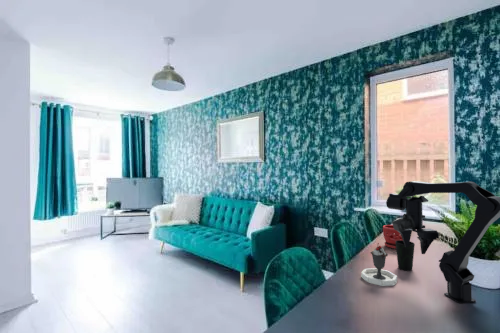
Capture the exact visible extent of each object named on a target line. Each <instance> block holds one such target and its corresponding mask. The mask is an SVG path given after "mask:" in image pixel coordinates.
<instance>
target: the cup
mask: <svg viewBox="0 0 500 333" xmlns="http://www.w3.org/2000/svg"><path fill="white" fill-rule="evenodd" d="M395 243H396V249H395V251H396V260H397V268H398V270H402V271H404V272H409V271H410V272H411V271H412V270H413V266H414V254H415V253H414V252H415V243H414V242H412V241H410V242H409V246H408V247H405V245H404V242H403V240H398V241H395Z"/></svg>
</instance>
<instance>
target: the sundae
mask: <svg viewBox="0 0 500 333" xmlns="http://www.w3.org/2000/svg"><path fill="white" fill-rule="evenodd" d="M369 253H370V255H371V256H372V263H373V266H374V268H377V269H378V273H377V275H373V277H374V278H376V279H380V280H384V279H386V277H384V276H382V275H381V269H383V270H384V268H385V265H386V259H387V258H386V257H388V256H389V254H388V253H387V252H386V249H385V248H383V247H382V246H381V245H380V244H379V242H378V243H377V245H376V247H375V248H374V250H372V251H371V252H369Z"/></svg>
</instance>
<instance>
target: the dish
mask: <svg viewBox="0 0 500 333" xmlns="http://www.w3.org/2000/svg"><path fill="white" fill-rule="evenodd" d="M377 273H378V269H377V268H376V267H372V268H371V267H370V268H364V269H363V270H362V271H361V272H360V274H361V278H362V279H363V280H364V281H365V282H366V283H369V284H371V285H375V286H380V287H391V286H396V284H397V282H398V275H397V274H395V273H393V272H391V271H389V270H386V269H384V268H383V269H381V275H382V276H384V277H386V279H384V280H380V279H376V278H374V277H373V275H377Z"/></svg>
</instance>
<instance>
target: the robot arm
mask: <svg viewBox="0 0 500 333" xmlns="http://www.w3.org/2000/svg"><path fill="white" fill-rule="evenodd" d="M402 187H403V188H402V189H401V190H400V192H399V193H389V195H388V197H387V199H386V200H385V201H386V202H385V205H386V207H387V208H388V209H389V210H390V209H391V210H396V211H404V210H405V213H403V214H402V218H398V219H395V220H393V221H391V225H393V228H394V230H396V231H398V232H399V233H400V234H401V236H402V239H403V242H404V245H405V247H408V246H409V242H411V237H412V233H413V232H415V233H416V235H417V236H416V238H417V240H419V244H420V245H419V246H420V252H421V255H425V254H426V253H427V251H428V250H429V248H430V246H431V245H432V243H433V242H434V241H436V240H437V239H439V238H440V232H439V231H437V230H436V229H432V228H426V225H425V224H424V225H423V219H425V218H426V215H424V214H423V203H427V202H429V200H428V199H427V197H425V196H424V195H426V194H427V195H429V194H444V193H445V194H464V195H465V196H466V197H467V198H468V199H469V200H470V202H472V203H473V204H474V205H476V208H475V210H474V218H473V220H472V221H471V223H470V225H469V226H468V228H467V230H466V232H465V233H463V234H464V235H463V236H462V237H461V239H460V241H458V244H457V245H456V247H455V249H454V250H453V249H451V250H449V251H445V252H443V254H442V256H441V258H440V259H439V260H438V262H439V265H438V267H439V269H440V272H441V273H442V274H443V277H444V280H445V282H446V284H447V288H446V289H447V292H444V293H443V294H444V295H445V296H446V297H448V298H449V299H452V300H453V301H455V302H456V303H459V304H466V303H476V302H477V301H476V299H474V298H472V296H473V295H472V283H470V282H472V281H473V280H474V278H475V274H473V272H471V270H470V269H469V268H468V265H469V260H470V259H469V258H470V256H471V254H472V253H473V251H474V249H475V248H476V247H477V245H478V244H479V242H480V240H481V239H482V238H483V237H484V235H485V233H486V232H487V230H488V229H489V227H490V226H491V225H492V224H493V223H494V222H496V221H497V220H498V219H500V196H498V195H495V194H494V193H492V192H491V191H489V190H487V189H485V188H483V187H481V186H480V185H478V184H477V183H476V182H474V181H463V182H462V181H461V182H436V183H431V182H427V181H420V180H415V181H414V180H413V181H406V182H405V183H404V184H403V186H402Z"/></svg>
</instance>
